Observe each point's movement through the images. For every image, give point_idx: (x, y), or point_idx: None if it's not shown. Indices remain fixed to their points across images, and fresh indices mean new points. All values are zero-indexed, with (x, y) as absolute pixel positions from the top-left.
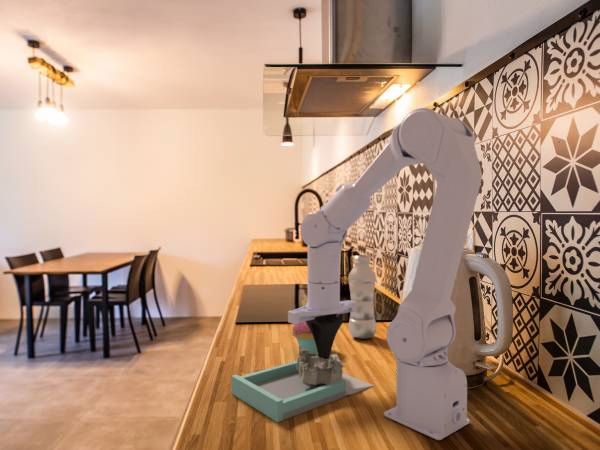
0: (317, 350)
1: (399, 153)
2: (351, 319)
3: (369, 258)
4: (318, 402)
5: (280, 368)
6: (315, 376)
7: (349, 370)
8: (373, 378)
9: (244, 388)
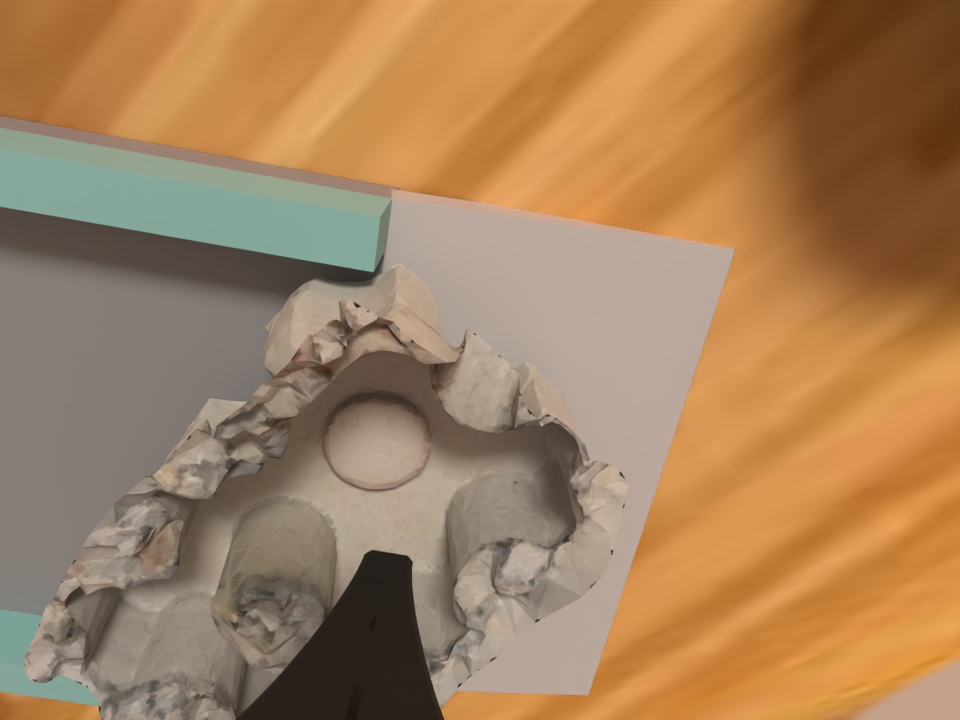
0: (348, 586)
1: None
2: None
3: None
4: None
5: (121, 224)
6: (127, 654)
7: (749, 466)
8: (697, 645)
9: None
